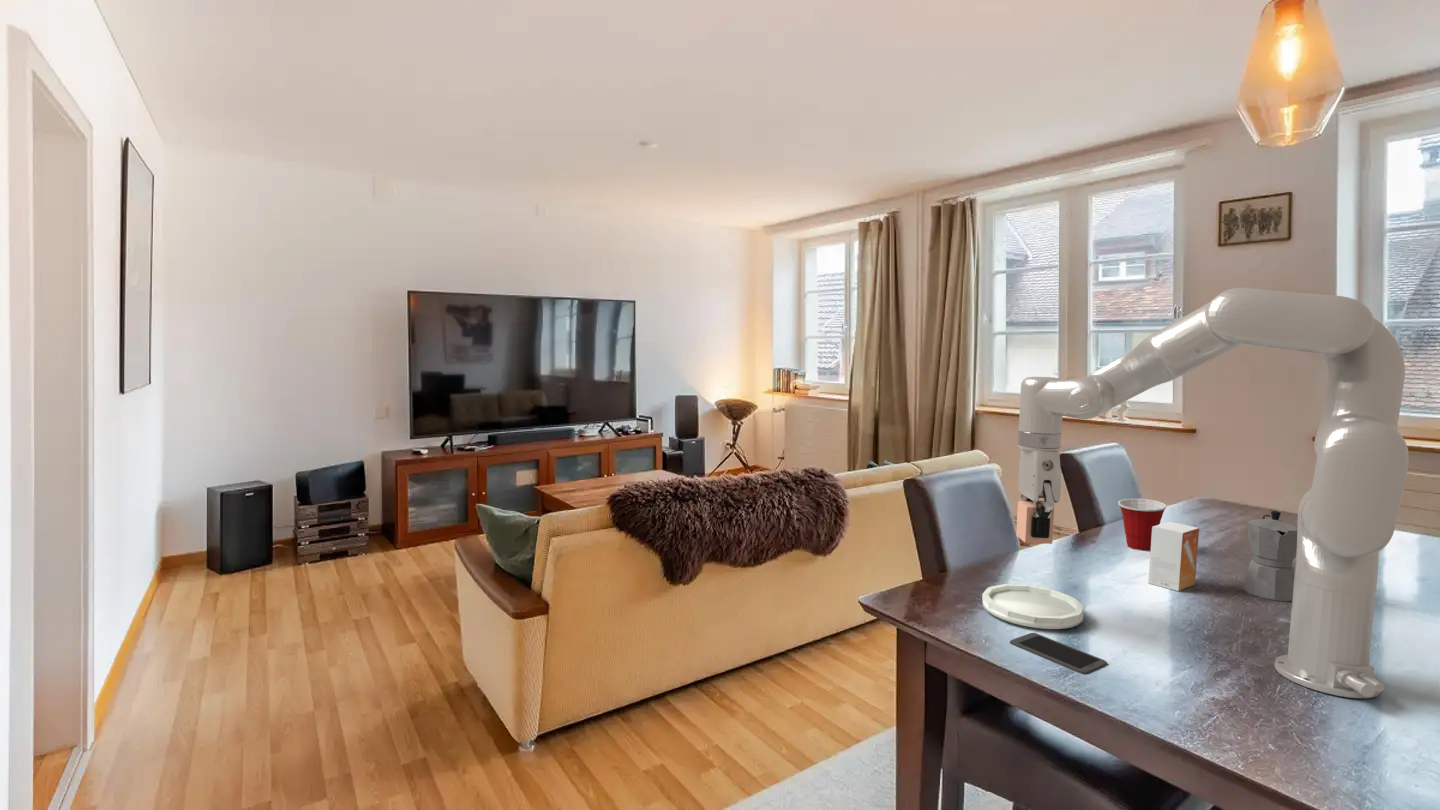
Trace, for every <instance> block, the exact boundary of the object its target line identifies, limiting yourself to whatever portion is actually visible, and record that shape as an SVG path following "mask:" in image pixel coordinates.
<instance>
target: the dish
mask: <svg viewBox="0 0 1440 810" xmlns="http://www.w3.org/2000/svg"><path fill="white" fill-rule="evenodd" d="M981 595H982V596H981V597H982V598H981V599H982V606H983V608H984V610H985V611H987V612H988V613H989V614H990V615H993V616H994V617H996V618H999V619H1001V620H1003V621H1006V622H1008V623H1011V624H1014V625H1015V624H1016V625H1020V626H1024V627H1028V628H1035V629H1044V630H1045V629H1047V630H1061V629H1062V630H1063V629H1070V628H1071V629H1072V628H1074V627H1077V626H1079V625H1081V623H1082V622H1083V620H1084V610H1085V609H1084V607H1085V606H1084V605H1083V604H1082V603H1080V602H1079V601H1078V600H1077V599H1076V598H1075V597H1074V596H1070V595H1068V594H1066V593H1063V592H1060V591H1058V590H1056V589H1051V588H1048V587H1047V588H1046V587H1041V586H1036V585H1030V584H1013V583H1003V584H998V585H992V586H988V587H987V588H986V589H985V590H984V592H982V594H981Z"/></svg>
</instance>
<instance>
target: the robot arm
mask: <svg viewBox="0 0 1440 810" xmlns="http://www.w3.org/2000/svg"><path fill="white" fill-rule="evenodd" d="M1244 344H1245V345H1250V346H1251V345H1252V346H1257V347H1263V348H1265V347H1266V348H1274V349H1281V350H1289V351H1298V352H1306V353H1312V354H1313V353H1314V354H1318V355H1320V356H1321V358H1322V359H1323V360H1324V362H1325V364H1326V369H1327V380H1326V386H1325V395H1324V396H1325V397H1324V402H1323V407H1322V411H1321V416H1320V421H1319V426H1318V429H1317V432H1316V435H1315V437H1314V442H1313V446H1314V447H1313V448H1314V449H1313V450H1314V452H1315V453H1314V454H1316V461H1315V468H1314V473H1313V478H1312V479H1313V480H1312V485H1311V487H1310V489H1308V490H1307V491H1306V492H1305V493H1304V495H1303V497H1301V500H1300V502H1299V505H1298V509H1297V526H1298V530H1297V553H1296V557H1295V567H1294V568H1295V569H1294V574H1295V576H1294V587H1293V599H1292V601H1291V612H1290V613H1291V614H1290V626H1289V635H1288V651H1287V654H1282V655H1279V656H1276V658H1275V659H1274V664H1273V665H1274V669H1275V670H1276V671H1277V672H1278V674H1280V675H1282V677H1284V678H1285V679H1287V680H1289V681H1291V682H1293V683H1296V684H1298V685H1300V686H1303V687H1304V688H1308V689H1311V690H1314V691H1317V692H1320V693H1323V694H1327V695H1328V694H1329V695H1333V696H1337V697H1344V698H1351V699H1372V698H1376V697H1378V696H1379V695H1381V693H1382V692H1384V691H1385V685H1384V684H1383V683H1382V682H1380V681H1379V680H1377V679H1376V678H1375V677H1374V666H1372V665H1370V657H1371V656H1370V655H1371V648H1372V637H1373V636H1372V635H1373V625H1374V616H1375V605H1376V597H1377V596H1376V594H1377V588H1378V587H1377V585H1378V575H1379V557H1380V555H1379V553H1380V552H1381V551H1382V550H1383V549H1384V548H1385V547H1386V546H1387V545H1388V544H1389V543H1390V541H1391V539H1392V537H1393V536H1394V533H1395V529H1396V526H1397V522H1398V518H1399V513H1400V508H1401V503H1402V500H1403V494H1404V490H1405V489H1404V488H1405V485H1406V479H1407V474H1408V470H1409V469H1408V468H1409V457H1410V456H1409V449H1408V445H1407V442H1406V440H1405V438H1404V436H1403V435H1402V434H1401V433H1400V432H1399V431H1398V427H1399V426H1398V425H1399V418H1400V413H1401V408H1402V407H1401V406H1402V399H1403V392H1404V388H1405V387H1404V385H1405V377H1406V367H1405V366H1406V365H1405V358H1404V355H1403V352H1402V349H1401V347H1400V345H1399V343H1398V341H1397V339H1396V338H1395V337H1394V336H1393V334H1392V333H1391V331H1390V330H1388V328H1387V327H1386V326H1385V325H1384V324H1383V323H1381V322H1380V321H1379V320H1377V319H1376V318H1375V317H1374V316H1373V313H1372V312H1371V310H1370V308H1369V307H1367V306H1366V304H1364V303H1363V302H1361V301H1359V300H1357V299H1354V298H1352V297H1348V296H1342V295H1331V294H1321V293H1320V294H1319V293H1309V292H1308V293H1306V292H1305V293H1304V292H1295V291H1284V290H1283V291H1281V290H1271V289H1261V288H1252V287H1235V288H1234V287H1233V288H1230V289H1227V290H1224V291H1223V292H1220V293H1219V294H1217V295H1216V296H1214V297H1213V299H1212V300H1210V302H1208V303H1205V304H1204V305H1201V307H1199V308H1197V309H1195V310H1193V311H1192V312H1190V313H1188V314H1186V315H1184V316H1183V317H1181V318H1179V319H1177V320H1175V321H1174V322H1172V323H1170V324H1167V325H1166V326H1164V327H1162V328H1160V329H1159V330H1157V331H1155V332H1153V333H1152V334H1150V335H1148V336H1147V337H1146V338H1144V339H1143V340H1141V341H1140V342H1139V343H1138V344H1137V345H1135V347H1134V348H1133V349H1131V350H1130V351H1129V352H1127V353H1126V354H1123V356H1121V357H1119V358H1117V359H1116V360H1114V361H1112V362H1110V363H1108V364H1107V365H1105V366H1104V367H1101V368H1100V369H1097V370H1096V371H1095V372H1093V373H1090V374H1089V375H1087V376H1084V377H1080V378H1072V379H1071V378H1070V379H1060V378H1059V377H1050V376H1028V377H1025V378H1024V379H1023V380H1022V382H1021V385H1020V395H1019V396H1020V399H1019V400H1020V401H1019V414H1018V415H1019V416H1018V419H1019V420H1018V438H1017V448H1019V449H1020V454H1019V463H1018V471H1017V472H1018V473H1017V490H1018V492H1019V493H1020V494H1021V501H1033V507H1034V516H1032V522H1031V536H1032V537H1033V538H1049V531H1050V518H1051V511H1052V509H1053V508H1054V509H1055V503H1056V504H1057V503H1059V502H1060V501H1061V490H1062V489H1061V477H1062V475H1061V458H1060V457H1061V456H1060V451H1061V450H1062V448H1061V447H1062V435H1063V434H1062V430H1063V417H1067V418H1072V419H1078V420H1090V419H1093V418H1096V417H1098V416H1100V415H1101V414H1105V413H1106V412H1107V411H1108V412H1109V410H1111V409H1113V408H1116V406H1119V405H1121V404H1122V403H1125V402H1127V401H1128V400H1130V399H1132V398H1134V397H1137V396H1138V395H1140V394H1143V393H1144V392H1146V391H1148V390H1150V389H1152V388H1154V387H1157V386H1159V385H1162V384H1166V383H1169V382H1172V381H1173V380H1175V379H1177V378H1179V377H1182V376H1185V374H1187V373H1190V372H1191V371H1193V370H1195V369H1197V368H1199V367H1201V366H1203V365H1205V364H1208V362H1212V360H1215V359H1217V358H1218V357H1221V356H1223V355H1224V354H1226V353H1228V352H1230V351H1233V350H1234V349H1236V348H1238V347H1240V346H1242V345H1244ZM1040 499H1043V500H1040ZM1038 504H1043V506H1041V507H1040V508H1039V505H1038Z"/></svg>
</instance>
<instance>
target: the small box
mask: <svg viewBox="0 0 1440 810" xmlns="http://www.w3.org/2000/svg"><path fill="white" fill-rule="evenodd" d="M1199 536H1200V527H1198V526H1192V525H1187V524H1182V523H1178V522H1172V521H1166V522H1164V523H1160V524H1159V525H1156V526H1153V527H1152V537H1151V550H1150V555H1149V569H1148V581H1147V583H1148V584H1151V585H1153V586H1157V587H1161V588H1164V589H1168V590H1171V591H1172V590H1173V591H1176V592H1180V591H1182V590H1184V589H1186V588H1187V589H1188V588H1189V587H1192V586H1194V585H1195V584H1196V574H1197V562H1198V548H1199V547H1198V546H1199Z"/></svg>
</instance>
